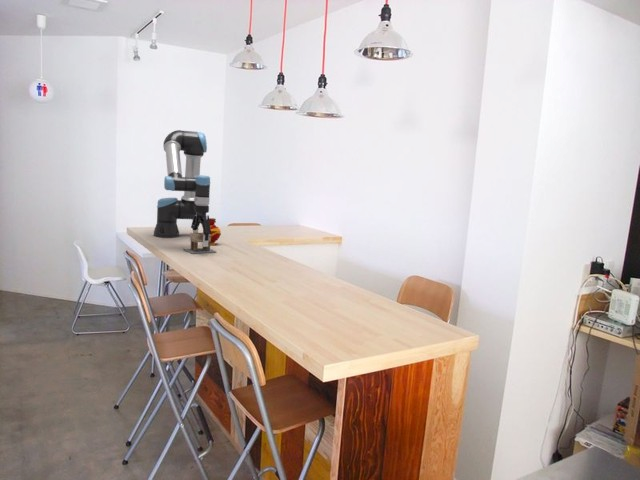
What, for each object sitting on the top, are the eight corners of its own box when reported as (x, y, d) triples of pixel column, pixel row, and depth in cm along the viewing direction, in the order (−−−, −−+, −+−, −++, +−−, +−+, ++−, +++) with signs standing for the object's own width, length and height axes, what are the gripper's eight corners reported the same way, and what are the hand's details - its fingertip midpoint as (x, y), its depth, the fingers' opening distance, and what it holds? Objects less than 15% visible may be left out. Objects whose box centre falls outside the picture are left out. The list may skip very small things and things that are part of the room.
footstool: (205, 248, 266) (206, 232, 265) (210, 250, 262) (210, 234, 260) (189, 249, 261) (190, 233, 259) (194, 251, 256) (195, 234, 255)
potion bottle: (210, 246, 277) (211, 220, 275) (198, 243, 283) (199, 217, 281) (224, 244, 285) (225, 219, 283) (212, 241, 292) (213, 217, 289)
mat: (183, 250, 261) (183, 248, 261) (207, 248, 270) (207, 247, 270) (191, 254, 253) (191, 252, 253) (216, 252, 261) (216, 251, 261)
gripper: (185, 202, 265) (184, 240, 268) (205, 207, 245) (203, 248, 249) (198, 202, 269) (197, 239, 273) (218, 207, 250) (216, 248, 253)
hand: (200, 244), depth 261 cm, fingers open, 13 cm apart
